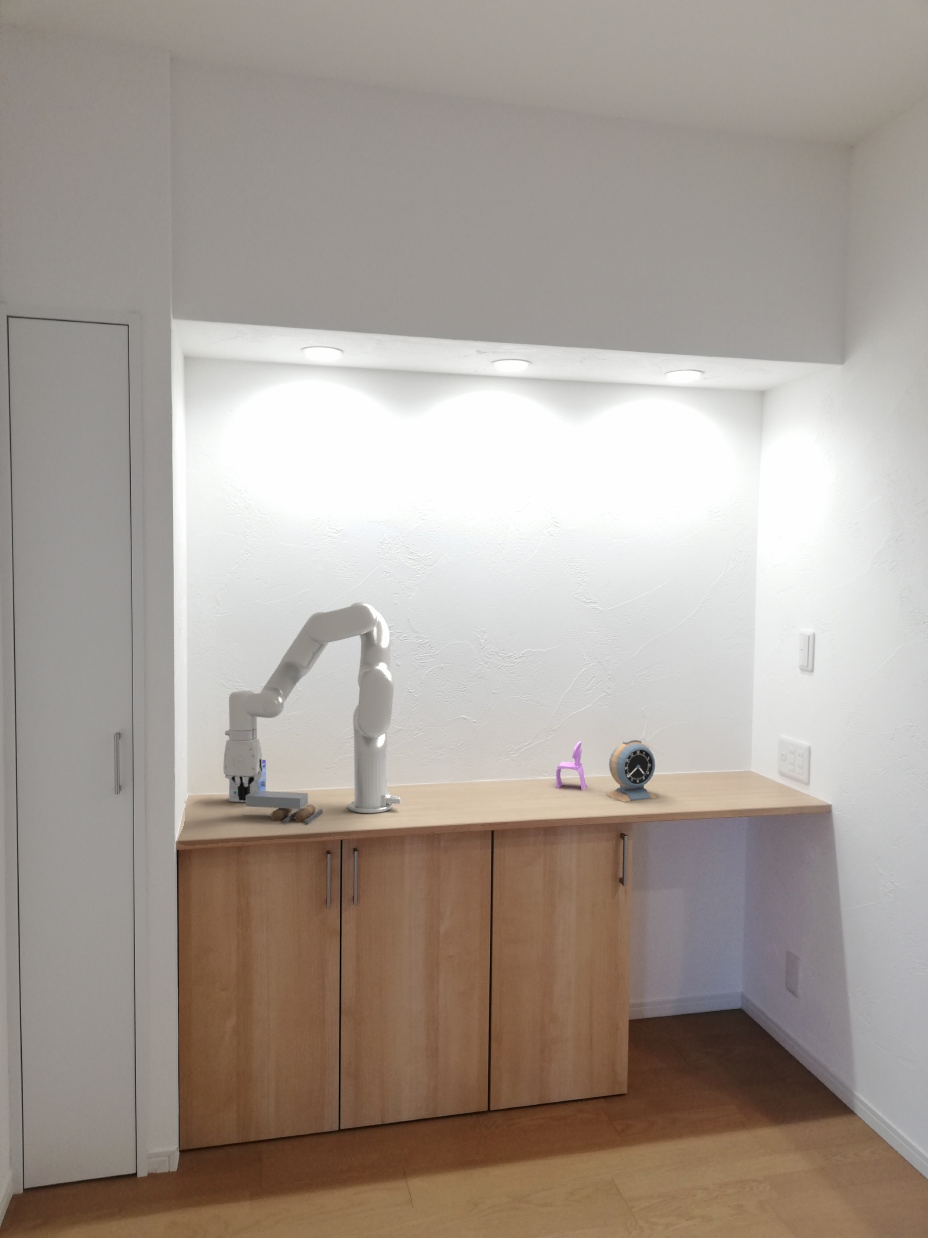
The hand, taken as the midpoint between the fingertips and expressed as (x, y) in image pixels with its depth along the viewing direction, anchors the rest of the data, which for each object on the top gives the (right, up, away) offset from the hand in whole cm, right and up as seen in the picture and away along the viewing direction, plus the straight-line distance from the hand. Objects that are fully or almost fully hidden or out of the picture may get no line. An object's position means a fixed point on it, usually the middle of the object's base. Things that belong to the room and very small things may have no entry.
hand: (244, 799), depth 249 cm
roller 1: (+10, -2, -2) cm, 10 cm away
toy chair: (+97, -3, +33) cm, 102 cm away
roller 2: (+17, -5, -3) cm, 18 cm away
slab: (+10, -1, -2) cm, 10 cm away
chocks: (+17, -5, -3) cm, 18 cm away
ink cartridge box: (-3, -4, +16) cm, 17 cm away
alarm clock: (+114, -4, +21) cm, 116 cm away
